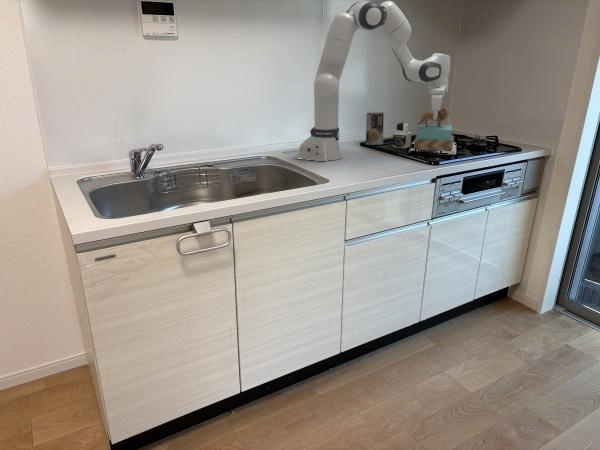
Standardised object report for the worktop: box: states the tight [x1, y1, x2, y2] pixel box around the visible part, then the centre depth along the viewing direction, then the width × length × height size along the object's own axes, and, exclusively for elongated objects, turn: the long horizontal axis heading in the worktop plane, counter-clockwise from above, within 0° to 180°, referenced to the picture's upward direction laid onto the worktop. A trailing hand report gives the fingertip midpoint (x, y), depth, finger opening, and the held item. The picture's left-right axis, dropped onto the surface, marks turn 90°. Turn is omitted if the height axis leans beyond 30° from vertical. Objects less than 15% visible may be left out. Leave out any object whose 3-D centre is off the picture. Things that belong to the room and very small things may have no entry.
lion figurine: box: [417, 107, 450, 127], centre depth 221 cm, size 15×5×9 cm, turn 80°
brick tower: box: [408, 124, 457, 155], centre depth 223 cm, size 22×22×11 cm
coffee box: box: [365, 112, 385, 145], centre depth 237 cm, size 9×6×16 cm
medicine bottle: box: [392, 122, 412, 149], centre depth 229 cm, size 7×7×12 cm
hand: (435, 117), depth 219 cm, fingers open, 8 cm apart
